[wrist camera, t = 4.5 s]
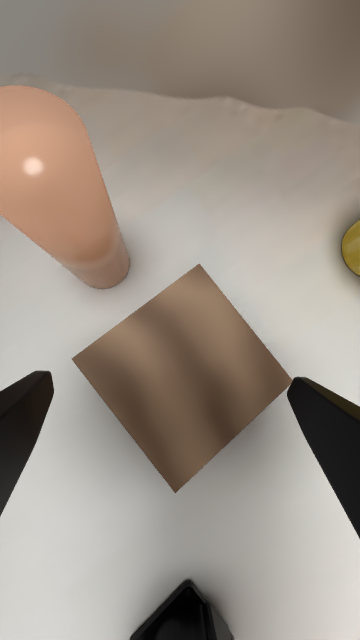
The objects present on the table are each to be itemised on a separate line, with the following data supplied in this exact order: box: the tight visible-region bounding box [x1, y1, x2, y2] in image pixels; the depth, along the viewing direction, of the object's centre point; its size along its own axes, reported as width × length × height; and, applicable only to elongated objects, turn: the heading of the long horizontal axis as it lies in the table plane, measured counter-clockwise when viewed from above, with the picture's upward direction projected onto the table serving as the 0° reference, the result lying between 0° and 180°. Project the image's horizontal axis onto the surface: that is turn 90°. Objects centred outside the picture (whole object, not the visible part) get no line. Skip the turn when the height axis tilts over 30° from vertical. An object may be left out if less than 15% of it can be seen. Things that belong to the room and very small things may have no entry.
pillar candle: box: [0, 85, 130, 289], centre depth 14 cm, size 5×5×12 cm
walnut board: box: [72, 264, 293, 493], centre depth 19 cm, size 14×14×2 cm
